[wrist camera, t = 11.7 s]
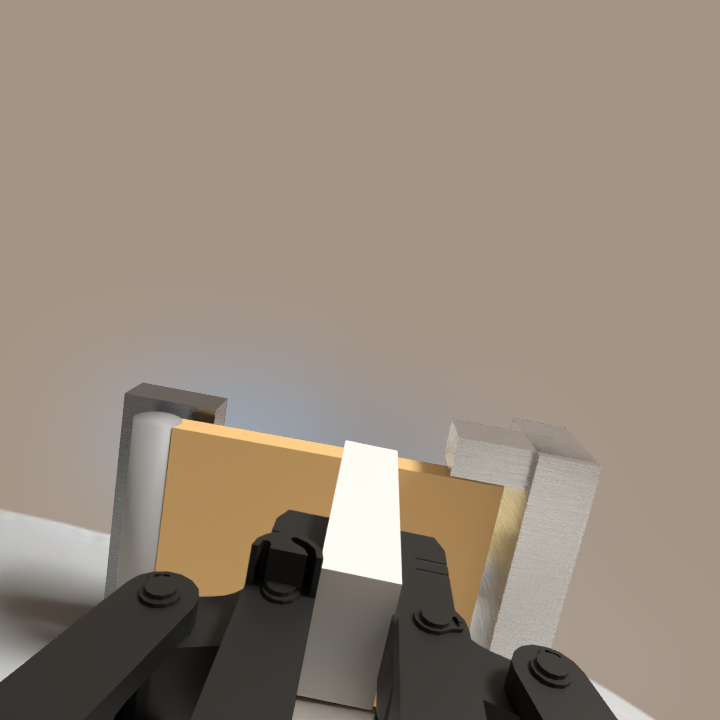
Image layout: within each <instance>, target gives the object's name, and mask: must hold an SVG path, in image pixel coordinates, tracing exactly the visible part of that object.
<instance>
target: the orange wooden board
mask: <svg viewBox="0 0 720 720" xmlns="http://www.w3.org/2000/svg"><path fill="white" fill-rule="evenodd" d="M343 451H344V448H342V447H337V446H331V445H326V444H320V443H315V442H309V441H304V440H298V439H293V438H287V437H281V436H276V435H270V434H264V433H259V432H254V431H248V430H243V429H237V428H232V427H226V426H221V425H215V424H210V423H204V422H198V421H193V420H187V419H181V418H180V417H178V416H176V415H174V414H170V413H165V412H143V413H139V414H136V415H135V416H134V417H133V426H132V435H131V445H130V455H129V464H128V474H127V483H126V493H125V503H124V512H123V522H122V531H121V541H120V551H119V560H118V570H117V579H116V589H115V591H116V590H117V589H118V588H120V587H121V586H122V585H123V584H125V583H126V582H127V581H129V580H131V579H132V578H134V577H136V576H138V575H140V574H145V573H149V572H153V571H169V572H173V573H177V574H182V575H183V576H185V577H187V578H189V579H191V580H192V581H193V582H194V583H195V585H196V586H197V587H198V589H199V597H203V596H222V595H228V594H232V593H235V592H237V591H239V590H241V589H243V588H244V585H245V581H246V575H247V569H248V563H249V557H250V552H251V546H252V543H253V542H254V541H255V540H256V539H257V538H258V537H260V536H262V535H265V534H267V533H271V532H272V529H273V526H274V523H275V521H276V518H277V517H279V516H280V515H282V514H283V513H285V512H286V511H288V510H294V511H299V512H304V513H309V514H314V515H318V516H323V517H328V518H330V513H331V509H332V504H333V499H334V494H335V489H336V485H337V480H338V475H339V470H340V465H341V461H342V456H343ZM398 481H399V509H400V531H404V532H409V533H414V534H419V535H424V536H429V537H434V538H435V539H436V540H437V542H438V543H439V544H440V545H441V547H442V548H443V549H444V550H445V555H446V561H447V567H448V572H449V578H450V584H451V590H452V595H453V601H454V607H455V611H456V612H457V613H458V614H459V615H460V616H461V617H462V618H463V619H464V620H465V621H466V623H467V626H468V628H470V624H471V620H472V616H473V612H474V608H475V604H476V600H477V596H478V592H479V588H480V584H481V580H482V576H483V572H484V568H485V564H486V560H487V556H488V552H489V548H490V544H491V540H492V535H493V531H494V527H495V523H496V519H497V515H498V511H499V507H500V503H501V499H502V495H503V491H504V486H502V485H497V484H492V483H486V482H481V481H476V480H470V479H465V478H460V477H454V476H450V474H449V470H448V466H442V465H437V464H431V463H426V462H420V461H415V460H409V459H403V458H398ZM376 694H377V692H376ZM373 706H374V707H376V696H375V700H374V704H373Z"/></svg>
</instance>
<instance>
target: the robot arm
mask: <svg viewBox="0 0 720 720" xmlns="http://www.w3.org/2000/svg"><path fill="white" fill-rule="evenodd" d="M376 692H377V694H376ZM297 695H299V696H304V697H309V698H313V699H318V700H323V701H328V702H333V703H338V704H342V705H347V706H352V707H357V708H362V709H367V710H372V708H373V704H374V700H375V696H376V711H375V715H374V719H373V720H618V719H617V718H616V717H615V715H614V714H613V712H612V711H611V710H610V708H609V707H608V705H607V704H606V703H605V701H604V700H603V698H602V697H601V696H600V694H599V693H598V691H597V690H596V689H595V687H594V686H593V684H592V683H591V682H590V680H589V679H588V677H587V676H586V675H585V673H584V672H583V671H582V670H581V669H580V668H579V667H578V666H577V665H576V664H575V663H574V662H573V661H572V660H570V659H569V658H567V657H566V656H564V655H563V654H561V653H560V652H558V651H556V650H552V649H551V648H548V647H544V646H538V645H533V644H532V645H524V646H520V647H519V648H518V649H516V650H515V651H514V652H513V656H512V659H511V660H510V659H508V658H505V657H503V656H501V655H498V654H496V653H494V652H492V651H490V650H488V649H486V648H484V647H482V646H480V645H479V644H477V643H476V642H474V641H473V640H472V639H471V635H470V630H469V628H468V626H467V623H466V621H465V620H464V619H463V618H462V617H461V616H460V615H459V614H458V613H457V612H456V611H455V607H454V601H453V595H452V590H451V584H450V578H449V572H448V567H447V561H446V555H445V550H444V549H443V548H442V547H441V545H440V544H439V543H438V542H437V540H436V539H435V538H434V537H429V536H424V535H419V534H414V533H409V532H404V531H400V509H399V481H398V454H397V451H395V450H391V449H385V448H380V447H376V446H370V445H366V444H361V443H356V442H351V441H345V446H344V451H343V456H342V461H341V465H340V470H339V475H338V480H337V485H336V489H335V494H334V499H333V504H332V509H331V513H330V518H328V517H323V516H318V515H314V514H309V513H304V512H299V511H294V510H288V511H286V512H285V513H283V514H282V515H280V516H279V517H277V518H276V521H275V523H274V526H273V529H272V532H271V533H267V534H265V535H262V536H260V537H258V538H257V539H256V540H255V541H254V542H253V543H252V546H251V552H250V557H249V563H248V569H247V575H246V581H245V585H244V588H243V589H241V590H239V591H237V592H235V593H232V594H228V595H222V596H203V597H199V589H198V587H197V586H196V585H195V583H194V582H193V581H192V580H191V579H189V578H187V577H185V576H183V575H182V574H177V573H173V572H169V571H153V572H149V573H145V574H140V575H138V576H136V577H134V578H132V579H131V580H129V581H127V582H126V583H125V584H123V585H122V586H121V587H120V588H118V589H117V590H116V591H115V592H113V593H112V594H111V595H110V596H108V597H107V598H106V599H104V600H103V601H102V602H101V603H99V604H98V605H97V606H96V607H94V608H93V609H92V610H91V611H89V612H88V613H87V614H86V615H84V616H83V617H82V618H81V619H79V620H78V621H77V622H76V623H74V624H73V625H72V626H70V627H69V628H68V629H67V630H65V631H64V632H63V633H62V634H60V635H59V636H58V637H57V638H55V639H54V640H53V641H52V642H50V643H49V644H48V645H47V646H45V647H44V648H43V649H42V650H40V651H39V652H38V653H36V654H35V655H34V656H33V657H31V658H30V659H29V660H28V661H26V662H25V663H24V664H23V665H21V666H20V667H19V668H18V669H16V670H15V671H14V672H13V673H11V674H10V675H9V676H8V677H6V678H5V679H4V680H2V681H1V682H0V720H292V716H293V711H294V706H295V701H296V696H297Z"/></svg>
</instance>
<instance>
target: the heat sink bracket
mask: <svg viewBox="0 0 720 720" xmlns="http://www.w3.org/2000/svg"><path fill="white" fill-rule="evenodd" d="M226 406H227V398H221V397H216V396H211V395H206V394H200V393H195V392H189V391H185V390H179V389H174V388H168V387H163V386H158V385H152V384H147V383H142V384H140V385H138V386H137V387H135V388H133V389H132V390H130V391H128V392H126V393H125V398H124V408H123V418H122V428H121V438H120V448H119V458H118V468H117V478H116V488H115V498H114V508H113V518H112V528H111V537H110V547H109V557H108V567H107V577H106V587H105V597H104V599H106V598H107V597H108V596H110V595H111V594H112V593H113V592H115V589H116V579H117V570H118V560H119V551H120V541H121V531H122V522H123V512H124V503H125V493H126V483H127V474H128V464H129V455H130V445H131V435H132V426H133V417H134V416H135V415H136V414H139V413H143V412H165V413H170V414H174V415H176V416H178V417H180V418H181V419H187V420H193V421H198V422H204V423H210V424H215V425H221V426H224V421H225V414H226ZM444 454H445V458H446V462H447V466H448V470H449V474H450V476H454V477H460V478H465V479H470V480H476V481H481V482H486V483H492V484H497V485H502V486H504V491H503V495H502V499H501V503H500V507H499V511H498V515H497V519H496V523H495V527H494V531H493V535H492V540H491V544H490V548H489V552H488V556H487V560H486V564H485V568H484V572H483V576H482V580H481V584H480V588H479V592H478V596H477V600H476V604H475V608H474V612H473V616H472V620H471V624H470V628H469V630H470V635H471V639H472V640H473V641H474V642H476V643H477V644H479V645H480V646H482V647H484V648H486V649H488V650H490V651H492V652H494V653H496V654H498V655H501V656H503V657H505V658H508V659H510V660H511V659H512V656H513V652H514V651H515V650H516V649H518V648H519V647H520V646H524V645H532V644H533V645H538V646H544V647H548V648H551V647H552V644H553V640H554V637H555V633H556V629H557V626H558V623H559V619H560V616H561V612H562V609H563V605H564V601H565V598H566V594H567V591H568V587H569V583H570V580H571V577H572V573H573V569H574V566H575V562H576V559H577V556H578V552H579V548H580V545H581V541H582V537H583V534H584V530H585V527H586V524H587V520H588V517H589V513H590V509H591V506H592V502H593V499H594V495H595V492H596V488H597V484H598V481H599V477H600V474H601V471H602V466H601V465H600V464H599V463H598V462H597V461H596V460H595V459H594V458H593V457H592V456H591V455H590V453H589V452H587V450H586V449H585V448H584V447H583V446H582V445H581V444H580V443H579V442H578V441H577V440H576V439H575V437H574V436H573V435H572V434H571V433H570V432H569V431H568V430H567V429H566V428H565V427H560V426H555V425H550V424H544V423H539V422H534V421H528V420H523V419H517V418H513V421H512V425H511V429H505V428H500V427H494V426H489V425H484V424H478V423H473V422H468V421H463V420H457V419H452V421H451V426H450V430H449V435H448V439H447V444H446V448H445V453H444Z"/></svg>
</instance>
